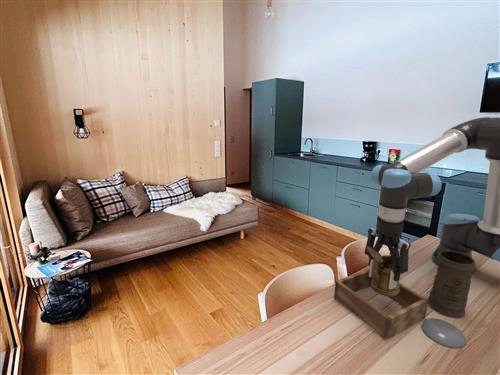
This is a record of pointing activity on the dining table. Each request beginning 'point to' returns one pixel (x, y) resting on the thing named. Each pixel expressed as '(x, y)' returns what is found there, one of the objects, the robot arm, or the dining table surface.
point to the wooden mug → (382, 274)
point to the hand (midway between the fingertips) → (381, 281)
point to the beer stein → (451, 284)
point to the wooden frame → (373, 315)
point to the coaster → (443, 333)
